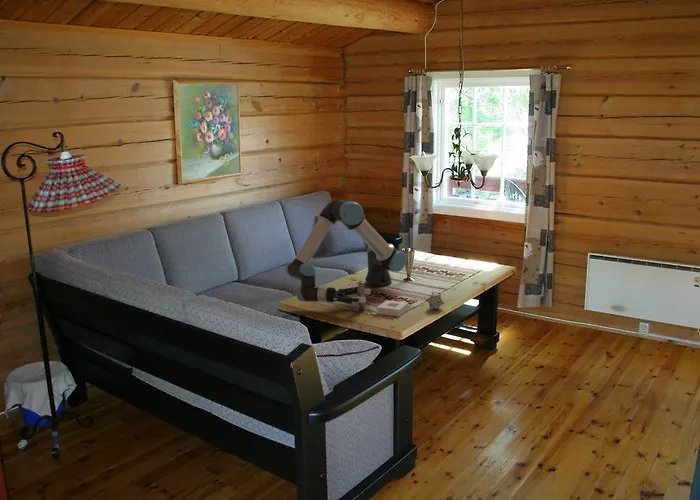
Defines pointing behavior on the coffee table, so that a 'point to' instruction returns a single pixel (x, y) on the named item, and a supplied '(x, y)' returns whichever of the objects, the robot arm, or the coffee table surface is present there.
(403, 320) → the coffee table surface
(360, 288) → the pin
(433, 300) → the game die
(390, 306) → the socket block
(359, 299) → the robot arm
